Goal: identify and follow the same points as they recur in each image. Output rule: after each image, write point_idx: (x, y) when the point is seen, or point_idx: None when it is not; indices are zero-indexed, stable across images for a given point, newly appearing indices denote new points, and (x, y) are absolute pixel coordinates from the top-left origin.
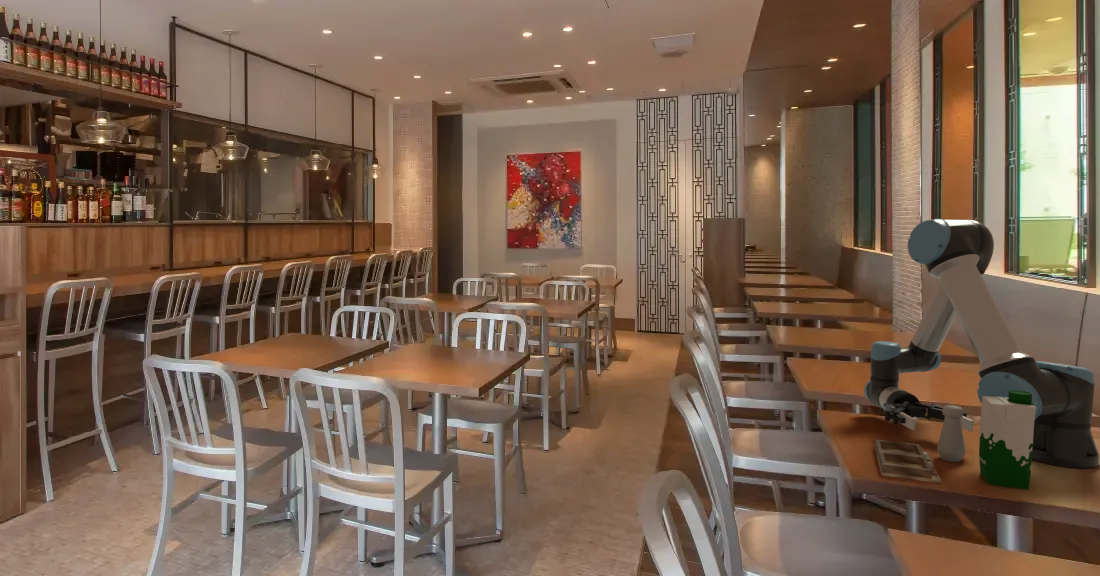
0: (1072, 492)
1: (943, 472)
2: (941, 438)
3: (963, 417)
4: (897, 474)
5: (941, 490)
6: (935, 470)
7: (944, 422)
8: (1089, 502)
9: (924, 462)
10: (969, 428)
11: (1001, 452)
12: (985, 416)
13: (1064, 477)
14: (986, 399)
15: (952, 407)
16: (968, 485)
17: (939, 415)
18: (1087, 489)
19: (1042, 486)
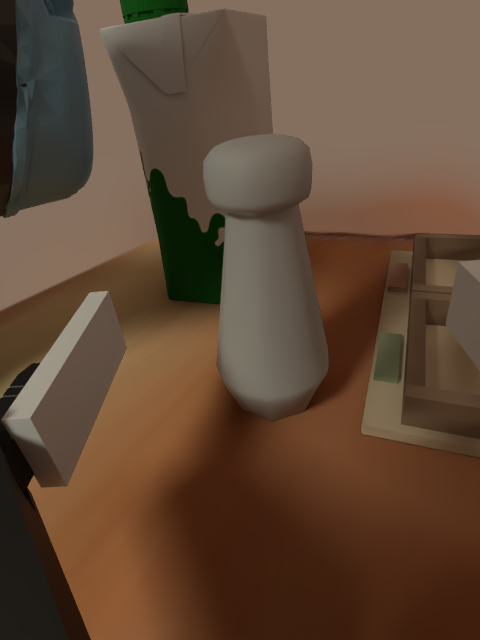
0: (120, 267)
1: (359, 301)
2: (319, 308)
3: (84, 331)
4: None
5: (400, 238)
6: (391, 274)
7: (301, 239)
8: (137, 247)
9: (425, 261)
10: (120, 336)
11: None
12: (268, 77)
13: (34, 319)
14: (246, 13)
15: (271, 134)
16: (327, 259)
17: (70, 604)
18: (69, 280)
19: (154, 277)
